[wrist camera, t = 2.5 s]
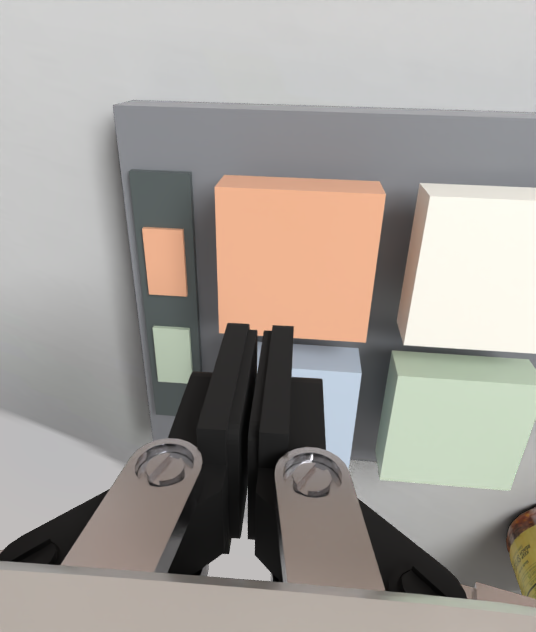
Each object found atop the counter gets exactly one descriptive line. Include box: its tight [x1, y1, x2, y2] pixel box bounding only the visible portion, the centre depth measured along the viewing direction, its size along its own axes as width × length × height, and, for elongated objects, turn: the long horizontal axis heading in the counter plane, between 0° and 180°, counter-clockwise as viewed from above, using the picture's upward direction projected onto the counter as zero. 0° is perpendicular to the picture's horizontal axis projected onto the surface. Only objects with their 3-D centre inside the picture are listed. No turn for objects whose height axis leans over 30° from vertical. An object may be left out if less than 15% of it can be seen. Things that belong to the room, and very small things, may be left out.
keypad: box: [113, 100, 536, 462], centre depth 24 cm, size 20×18×3 cm
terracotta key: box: [215, 175, 386, 343], centre depth 19 cm, size 6×6×2 cm
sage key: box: [375, 350, 536, 491], centre depth 22 cm, size 6×6×2 cm
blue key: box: [257, 342, 362, 470], centre depth 23 cm, size 6×6×2 cm
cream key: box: [397, 183, 536, 354], centre depth 19 cm, size 6×6×2 cm
